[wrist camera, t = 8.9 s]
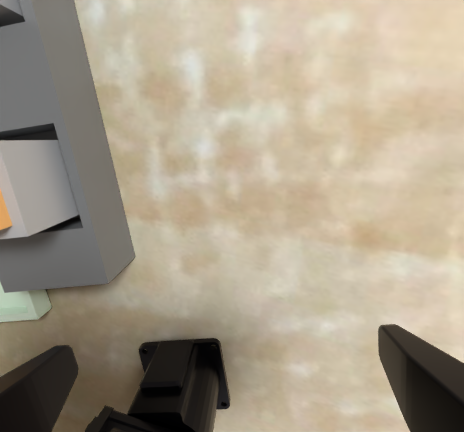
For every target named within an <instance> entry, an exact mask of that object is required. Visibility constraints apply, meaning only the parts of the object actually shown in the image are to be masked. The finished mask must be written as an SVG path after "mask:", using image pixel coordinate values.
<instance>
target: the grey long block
mask: <svg viewBox="0 0 464 432" xmlns="http://www.w3.org/2000/svg"><path fill="white" fill-rule="evenodd" d="M19 2H20V6H21V9H22V13H23V16H24V20H25V22H21V23H16V24H12V25H7V26H2V27H0V140H59V144H60V147H61V151H62V154H63V158H64V162H65V165H66V169H67V172H68V176H69V179H70V183H71V186H72V190H73V193H74V197H75V201H76V204H77V208H78V211H79V215H77V216H75V217H72V218H70V219H68V220H65V221H63V222H61V223H58V224H56V225H54V226H51V227H49V228H47V229H44V230H42V231H40V232H37V233H35V234H33V235H30V236H28V237H18V238H8V239H0V282H1V285H2V288H3V290H4V293H9V292H20V291H31V290H42V289H53V288H65V287H76V286H87V285H98V284H108V283H109V282H111V281H112V280H113V279H114V278H115V277H116V276H117V275H118V274H119V273H120V272H121V271H122V270H123V269H124V268H125V267H126V266H127V265H128V264H129V263H130V262H131V261H132V260H133V259H134V258H135V253H134V249H133V245H132V241H131V236H130V232H129V228H128V224H127V220H126V216H125V211H124V207H123V203H122V199H121V195H120V191H119V186H118V182H117V178H116V174H115V170H114V166H113V161H112V157H111V153H110V149H109V145H108V141H107V136H106V132H105V128H104V124H103V120H102V116H101V112H100V107H99V103H98V99H97V95H96V91H95V87H94V82H93V78H92V74H91V70H90V66H89V62H88V57H87V53H86V49H85V45H84V41H83V37H82V32H81V28H80V24H79V20H78V16H77V12H76V7H75V3H74V0H19Z"/></svg>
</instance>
